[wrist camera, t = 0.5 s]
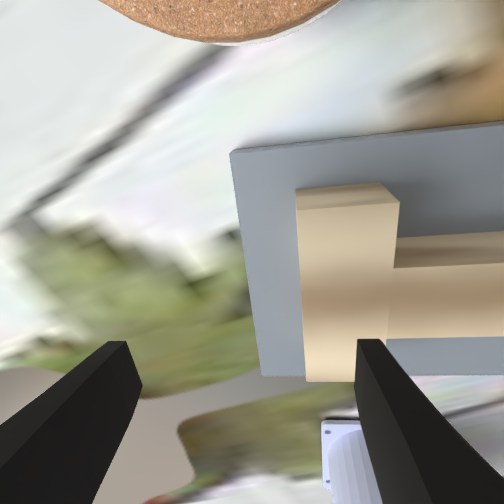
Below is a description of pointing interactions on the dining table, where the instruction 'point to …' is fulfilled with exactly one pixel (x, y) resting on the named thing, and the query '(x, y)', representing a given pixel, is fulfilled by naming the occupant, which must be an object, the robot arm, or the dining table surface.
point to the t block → (387, 278)
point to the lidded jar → (224, 18)
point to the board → (409, 225)
